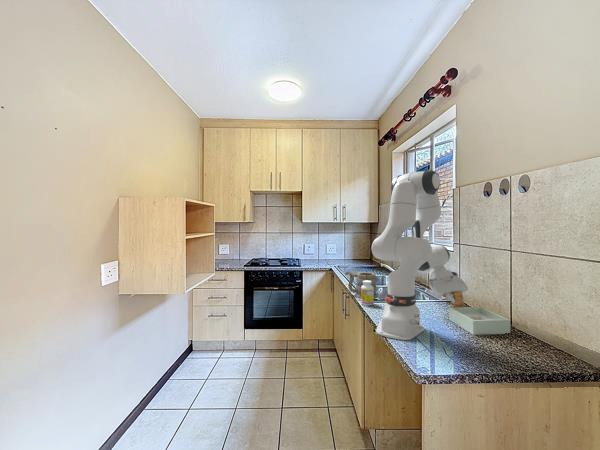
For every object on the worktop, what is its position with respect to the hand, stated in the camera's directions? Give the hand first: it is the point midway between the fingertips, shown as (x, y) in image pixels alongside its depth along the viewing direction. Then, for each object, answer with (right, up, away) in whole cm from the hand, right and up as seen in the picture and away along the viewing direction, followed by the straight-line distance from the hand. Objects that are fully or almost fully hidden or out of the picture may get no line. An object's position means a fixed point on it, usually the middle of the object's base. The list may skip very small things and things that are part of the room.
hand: (459, 301), depth 140 cm
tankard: (-39, -7, +40) cm, 56 cm away
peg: (0, -6, +1) cm, 6 cm away
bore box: (0, -7, -14) cm, 16 cm away
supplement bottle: (-39, -8, +22) cm, 45 cm away
